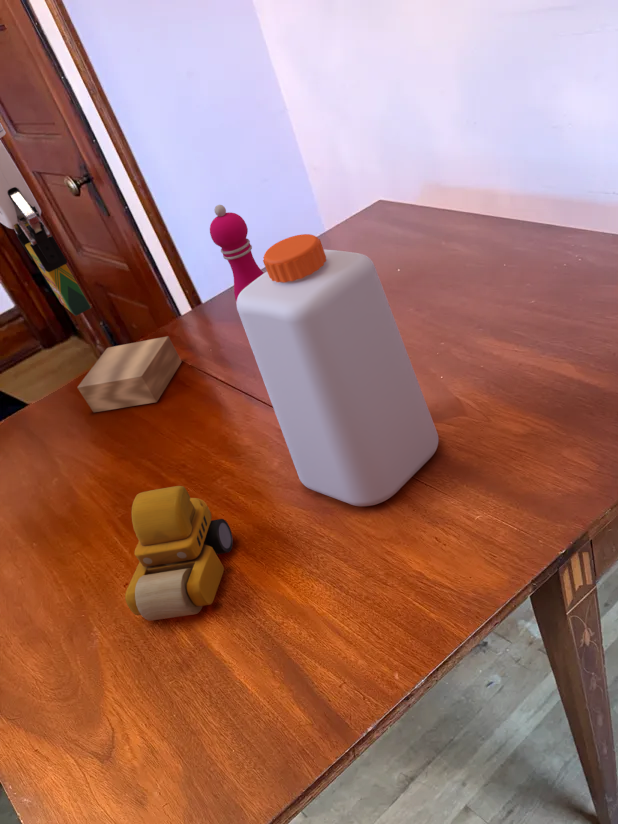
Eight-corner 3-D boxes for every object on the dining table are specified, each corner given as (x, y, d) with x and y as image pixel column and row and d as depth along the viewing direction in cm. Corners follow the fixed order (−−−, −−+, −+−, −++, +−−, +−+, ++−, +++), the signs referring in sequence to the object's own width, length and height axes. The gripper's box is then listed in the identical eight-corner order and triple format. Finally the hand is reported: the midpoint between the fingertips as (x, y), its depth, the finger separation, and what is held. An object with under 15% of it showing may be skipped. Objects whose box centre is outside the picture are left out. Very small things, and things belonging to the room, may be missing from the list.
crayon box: (61, 306, 115) (16, 232, 107) (78, 297, 116) (35, 223, 108) (74, 317, 110) (28, 240, 102) (92, 308, 111) (47, 231, 103)
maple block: (93, 412, 122) (76, 387, 119) (122, 372, 131) (107, 347, 127) (157, 402, 119) (141, 375, 116) (182, 361, 128) (168, 335, 124)
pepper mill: (239, 325, 132) (188, 213, 119) (270, 305, 135) (224, 193, 121) (261, 333, 127) (210, 217, 114) (293, 312, 130) (247, 196, 117)
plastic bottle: (289, 486, 94) (189, 277, 75) (365, 416, 100) (291, 209, 82) (377, 519, 85) (288, 292, 66) (454, 440, 91) (394, 214, 73)
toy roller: (138, 632, 82) (86, 567, 75) (172, 540, 92) (130, 476, 85) (212, 621, 80) (166, 553, 73) (238, 529, 90) (200, 462, 83)
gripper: (-67, 139, 101) (12, 262, 113) (-45, 149, 89) (41, 286, 101) (-15, 117, 103) (57, 240, 115) (13, 124, 92) (91, 261, 103)
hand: (49, 261), depth 108 cm, fingers closed on crayon box, 7 cm apart
